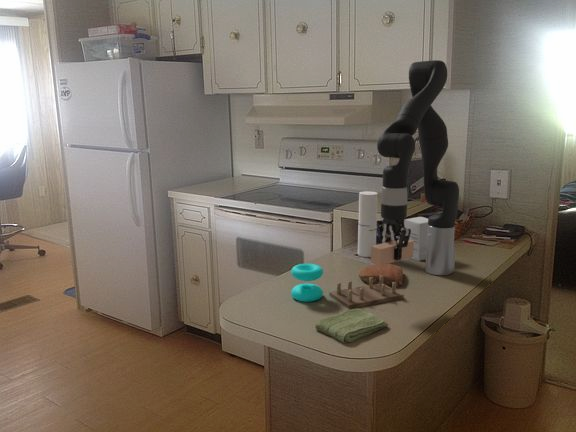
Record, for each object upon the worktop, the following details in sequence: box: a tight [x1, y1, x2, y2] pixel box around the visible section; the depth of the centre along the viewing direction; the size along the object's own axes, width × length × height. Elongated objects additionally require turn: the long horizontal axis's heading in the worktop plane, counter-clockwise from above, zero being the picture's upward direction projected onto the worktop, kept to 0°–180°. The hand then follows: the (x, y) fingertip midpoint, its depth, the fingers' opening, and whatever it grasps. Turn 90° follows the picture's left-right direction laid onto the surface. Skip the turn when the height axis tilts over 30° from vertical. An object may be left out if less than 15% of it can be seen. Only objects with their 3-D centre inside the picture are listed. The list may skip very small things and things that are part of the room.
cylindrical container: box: [357, 190, 378, 258], centre depth 214 cm, size 7×7×25 cm
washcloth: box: [314, 308, 389, 344], centre depth 150 cm, size 13×18×3 cm
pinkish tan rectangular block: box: [370, 240, 414, 266], centre depth 162 cm, size 14×4×5 cm, turn 126°
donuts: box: [290, 263, 324, 303], centre depth 171 cm, size 10×10×10 cm
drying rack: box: [329, 275, 405, 310], centre depth 172 cm, size 20×12×5 cm, turn 114°
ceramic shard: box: [358, 263, 404, 288], centre depth 189 cm, size 15×6×15 cm
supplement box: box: [404, 216, 428, 262], centre depth 212 cm, size 9×9×15 cm
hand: (392, 257), depth 163 cm, fingers closed on pinkish tan rectangular block, 4 cm apart
